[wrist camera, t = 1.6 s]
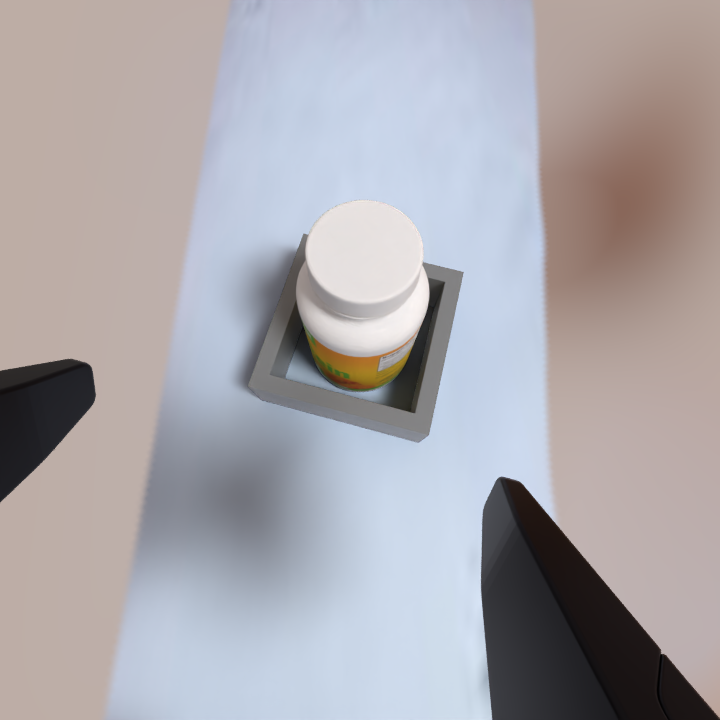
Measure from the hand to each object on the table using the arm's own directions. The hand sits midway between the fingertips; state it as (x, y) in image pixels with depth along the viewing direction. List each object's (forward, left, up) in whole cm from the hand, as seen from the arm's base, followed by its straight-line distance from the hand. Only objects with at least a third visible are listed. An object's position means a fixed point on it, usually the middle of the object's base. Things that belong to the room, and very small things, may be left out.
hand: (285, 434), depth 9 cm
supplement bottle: (+7, 0, -13) cm, 14 cm away
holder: (+7, 0, -13) cm, 14 cm away
